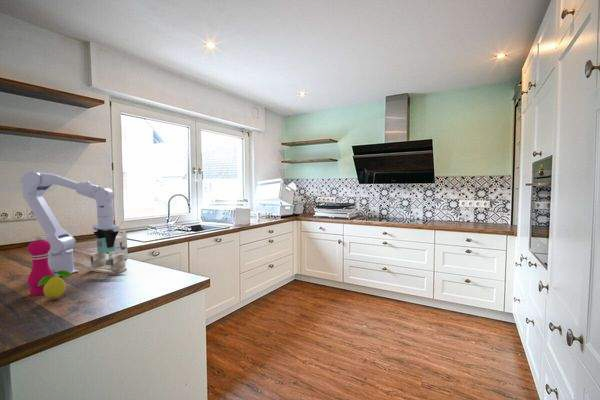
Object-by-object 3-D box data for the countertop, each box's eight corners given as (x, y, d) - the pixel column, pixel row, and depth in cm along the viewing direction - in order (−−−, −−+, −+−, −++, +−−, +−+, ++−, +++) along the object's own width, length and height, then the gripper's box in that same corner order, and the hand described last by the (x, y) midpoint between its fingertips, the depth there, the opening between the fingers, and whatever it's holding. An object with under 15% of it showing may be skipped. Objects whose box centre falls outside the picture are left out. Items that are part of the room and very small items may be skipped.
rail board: (113, 274, 119) (112, 256, 119) (90, 270, 125) (89, 254, 125) (126, 270, 125) (125, 253, 124) (104, 266, 131) (103, 250, 130)
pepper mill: (53, 286, 105) (49, 233, 104) (58, 291, 101) (54, 235, 100) (26, 292, 100) (22, 236, 98) (30, 297, 95) (25, 238, 94)
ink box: (108, 259, 144) (106, 230, 143) (118, 257, 148) (117, 229, 148) (118, 261, 140) (116, 231, 139) (128, 259, 144) (127, 230, 143)
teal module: (103, 253, 121) (102, 239, 120) (97, 252, 122) (96, 239, 122) (115, 250, 126) (114, 237, 125) (109, 250, 127) (108, 236, 127)
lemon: (73, 295, 97) (71, 266, 96) (59, 302, 91) (57, 271, 90) (53, 295, 96) (51, 266, 96) (37, 302, 91) (35, 272, 90)
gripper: (125, 215, 125) (127, 246, 125) (103, 214, 130) (105, 244, 131) (109, 217, 118) (111, 249, 119) (87, 216, 124) (89, 247, 124)
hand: (107, 247), depth 124 cm, fingers closed on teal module, 4 cm apart
